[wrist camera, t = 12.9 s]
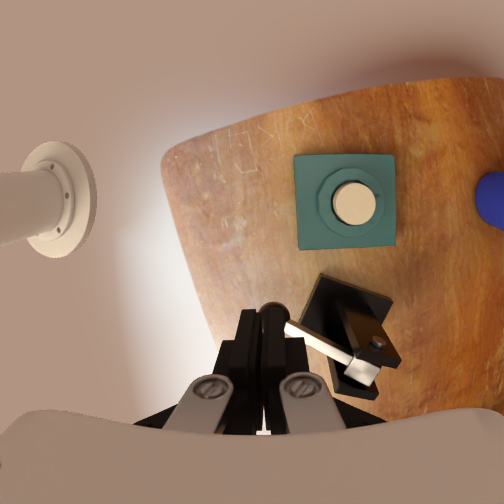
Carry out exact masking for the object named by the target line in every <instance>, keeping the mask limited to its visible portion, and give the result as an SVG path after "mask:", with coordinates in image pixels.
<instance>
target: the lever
mask: <svg viewBox="0 0 504 504" xmlns="http://www.w3.org/2000/svg"><path fill="white" fill-rule="evenodd" d="M282 307H283V312H284V332H285V333H287V334H289V335H290V336H292V337H304V339H305V344H307V345H309V346H310V347H312V348H314V349H316V350H318V351H320V352H322V353H324V354H325V355H327V356H329V357H331V358H333V359H335V360H337V361H339V362H341V363H343V364H345V365H347V368H346V370H345V372H344V374H345V375H347V376H349V377H351V378H353V379H355V380H357V381H359V382H361V383H363V384H365V385H367V386H370V385H371V384H372V382H373V381H374V379H375V378H376V376H377V375H378V373H379V372H380V370H381V367H382V365H378V364H374V363H370V362H366V361H362V360H358V359H356V358H355V355H354V352H352V351H350V350H348V349H346V348H344V347H342V346H340V345H338V344H336V343H334V342H333V341H331V340H329V339H327V338H325V337H323V336H321V335H319V334H317V333H315V332H313V331H312V330H310V329H308V328H306V327H304V326H302V325H300V324H299V323H297V322H295V321H293V320H291V319H290V314H289V311H288V309H287V308H286V307H285V306H284V305H283V304H281V303H279V302H269V303H266V304H265V305H263V306H262V307H261V308H260V310H259V312H261V318H262V329H264V317H265V312H270V308H282Z"/></svg>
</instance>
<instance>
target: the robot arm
mask: <svg viewBox="0 0 504 504" xmlns="http://www.w3.org/2000/svg"><path fill="white" fill-rule="evenodd" d="M74 209H75V194H74V188H73V184H72V181H71V178H70V176H69V174H68V172H67V170H66V169H65V168H64V167H63V166H62V165H61V164H60V163H59V162H56V161H54V160H43V161H40V162H38V163H36V164H35V165H34V166H33V167H32V168H31V169H30V170H29V171H24V172H12V173H1V174H0V247H3V246H6V245H8V244H12V243H15V242H17V241H20V240H23V239H26V238H29V237H32V236H35V237H37V238H38V239H40V240H43V241H53V240H56V239H58V238H60V237H61V236H62V235H64V234H65V232H66V231H67V230H68V228H69V226H70V224H71V221H72V218H73V214H74ZM263 408H264V411H265V422H266V430H271V435H256V431H262V423H263ZM0 504H504V416H503V415H501V414H499V413H498V412H496V411H493V410H490V409H484V408H458V409H449V410H443V411H437V412H432V413H427V414H423V415H419V416H414V417H410V418H405V419H400V420H395V421H390V422H387V421H385V420H383V419H381V418H379V417H376V416H374V415H372V414H369V413H367V412H365V411H362V410H360V409H358V408H356V407H353V406H351V405H349V404H347V403H345V402H342V401H340V400H338V399H336V398H334V397H332V395H331V393H330V391H329V389H328V386H327V384H326V382H325V381H324V379H323V378H322V377H321V376H319V375H318V374H315V373H312V372H310V371H309V364H308V358H307V352H306V345H305V339H304V337H293V338H285V332H284V312H283V307H282V308H270V312H265V317H264V329H262V318H261V312H256V309H244V310H242V311H241V315H240V320H239V324H238V328H237V332H236V336H235V340H223V341H222V344H221V347H220V350H219V354H218V357H217V360H216V363H215V366H214V370H213V373H212V374H210V375H205V376H202V377H199V378H197V379H196V380H194V381H193V382H192V383H191V384H190V386H189V387H188V389H187V390H186V392H185V394H184V395H183V397H182V398H181V400H180V401H179V403H178V404H176V405H174V406H172V407H170V408H168V409H165V410H163V411H161V412H159V413H157V414H154V415H152V416H150V417H147V418H145V419H143V420H140V421H138V422H136V423H134V424H132V425H131V424H126V423H121V422H116V421H111V420H106V419H102V418H97V417H92V416H87V415H83V414H79V413H74V412H68V411H58V410H37V411H31V412H28V413H25V414H23V415H22V416H20V417H19V418H18V419H17V420H15V421H14V422H13V423H12V424H11V425H10V426H9V427H8V428H7V429H6V430H5V431H4V432H3V433H2V434H1V436H0Z"/></svg>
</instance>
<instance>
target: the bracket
mask: <svg viewBox="0 0 504 504" xmlns="http://www.w3.org/2000/svg"><path fill="white" fill-rule="evenodd" d="M392 304H393V301H392V299H391V298H389V297H386V296H383V295H380V294H378V293H375V292H372V291H369V290H366V289H364V288H361V287H358V286H355V285H352V284H350V283H347V282H344V281H341V280H338V279H335V278H333V277H330V276H327V275H324V274H321V273H320V274H319V277H318V279H317V281H316V284H315V286H314V288H313V291H312V293H311V295H310V298H309V300H308V302H307V304H306V307H305V309H304V311H303V313H302V315H301V318H300V320H299V322H298V323H299V324H300V325H302V326H304V327H306V328H308V329H310V330H312V331H313V332H315V333H317V334H319V335H321V336H323V337H325V338H327V339H329V340H331V341H333V342H334V343H336V344H338V345H340V346H342V347H344V348H346V349H348V350H350V351H352V352H354V355H355V358H356V359H358V360H362V361H366V362H370V363H374V364H378V365H382V366H386V367H391V368H395V369H397V367H398V366H399V364H400V362H401V361H402V360H401V358H400V356H399V354H398V353H397V351H396V349H395V348H394V346H393V344H392V342H391V341H390V339H389V337H388V336H387V334H386V332H385V331H384V329H383V327H382V326H381V325H382V323H383V321H384V319H385V317H386V315H387V314H388V312H389V310H390V308H391V306H392ZM327 359H328V364H329V368H330V373H331V378H332V383H333V388H334V392H335V393H338V394H342V395H347V396H352V397H357V398H362V399H367V400H373V401H374V400H375V399H376V397H377V396H378V395H379V392H378V389H377V387H376V384H375V381H373V382H372V384H371V385H370V386H367V385H365V384H363V383H361V382H359V381H357V380H355V379H353V378H351V377H349V376H347V375H345V374H344V372H345V370H346V368H347V365H345V364H343V363H341V362H339V361H337V360H335V359H333V358H331V357H329V356H327Z"/></svg>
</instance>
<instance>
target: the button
mask: <svg viewBox="0 0 504 504" xmlns="http://www.w3.org/2000/svg"><path fill="white" fill-rule="evenodd" d="M333 207H334V210H335V212H336V214H337V215H338V217H339V218H341V219H342V220H343V221H345V222H346V223H348V224H351V225H360V224H363V223H365V222H367V221H368V220H369V219H370V218H371V217H372V215H373V214H374V211H375V207H376V202H375V197H374V195H373V193H372V191H371V190H370V189H369V188H368V187H367V186H365V185H363V184H360V183H346V184H344V185H342V186H341V187H339V188H338V190H337V191H336V192H335V195H334V198H333Z"/></svg>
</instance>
